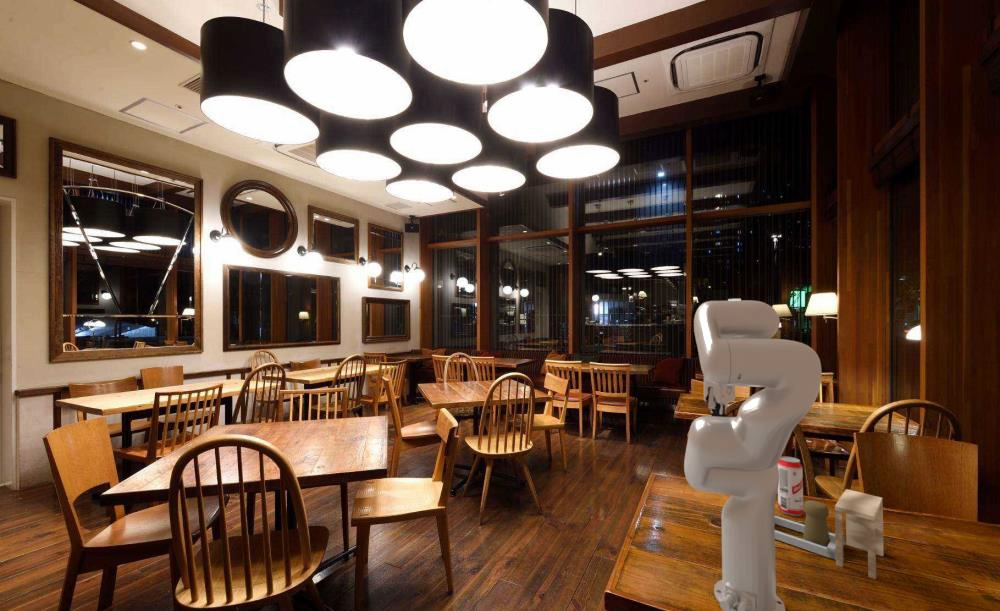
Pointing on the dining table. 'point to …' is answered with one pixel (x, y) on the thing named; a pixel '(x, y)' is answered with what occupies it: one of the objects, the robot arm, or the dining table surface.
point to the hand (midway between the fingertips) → (718, 428)
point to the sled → (825, 551)
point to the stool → (860, 526)
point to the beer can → (790, 486)
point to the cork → (816, 523)
